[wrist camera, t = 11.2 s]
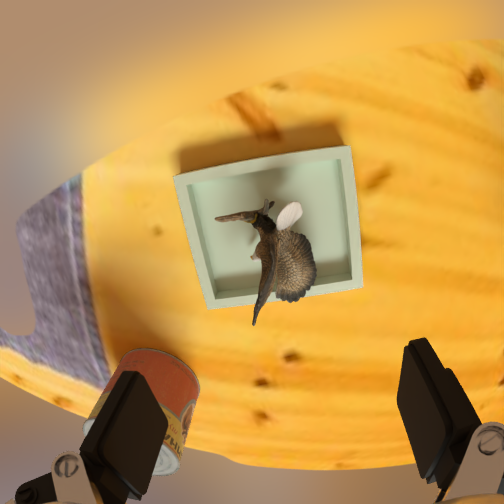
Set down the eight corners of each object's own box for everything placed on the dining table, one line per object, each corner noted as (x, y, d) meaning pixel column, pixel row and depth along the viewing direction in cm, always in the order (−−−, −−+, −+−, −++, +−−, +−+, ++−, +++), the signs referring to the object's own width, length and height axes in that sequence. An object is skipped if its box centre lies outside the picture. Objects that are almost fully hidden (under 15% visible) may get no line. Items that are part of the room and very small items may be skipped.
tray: (344, 144, 25) (350, 145, 23) (357, 277, 30) (362, 287, 28) (180, 173, 27) (172, 176, 25) (211, 298, 32) (207, 309, 30)
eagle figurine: (203, 231, 27) (238, 328, 26) (224, 202, 21) (270, 330, 20) (277, 210, 30) (309, 297, 29) (314, 182, 24) (355, 290, 23)
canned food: (195, 415, 39) (178, 484, 28) (122, 394, 39) (91, 455, 28) (204, 361, 35) (181, 441, 24) (117, 337, 35) (73, 404, 24)
